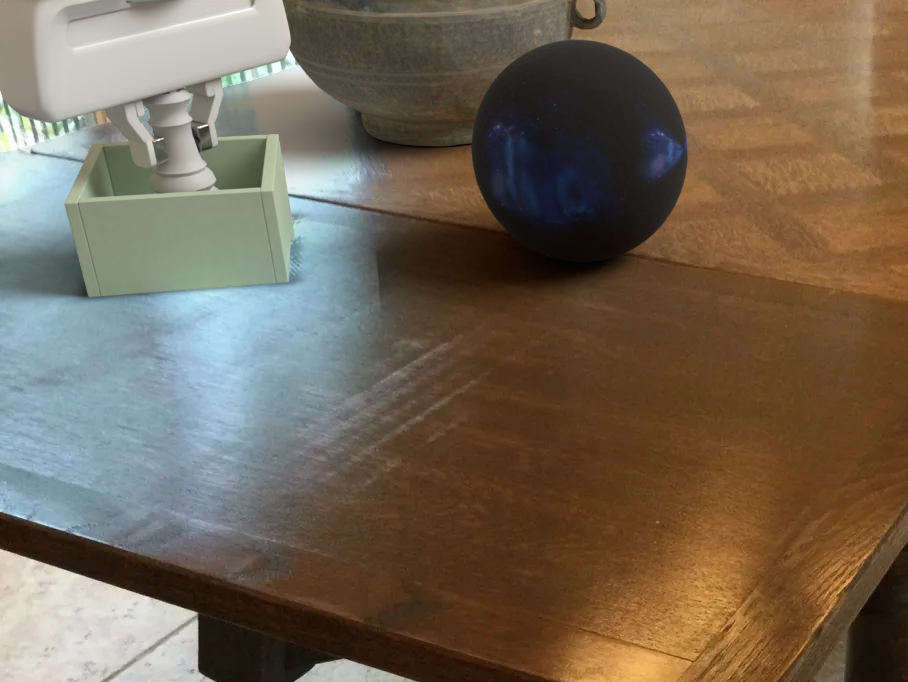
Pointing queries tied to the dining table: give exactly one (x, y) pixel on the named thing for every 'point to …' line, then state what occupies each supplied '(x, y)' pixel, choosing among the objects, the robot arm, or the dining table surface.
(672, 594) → the dining table surface
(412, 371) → the dining table surface
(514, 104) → the decorative sphere
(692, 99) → the dining table surface
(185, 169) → the rook chess piece
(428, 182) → the dining table surface
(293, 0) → the bowl
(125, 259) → the green open box
